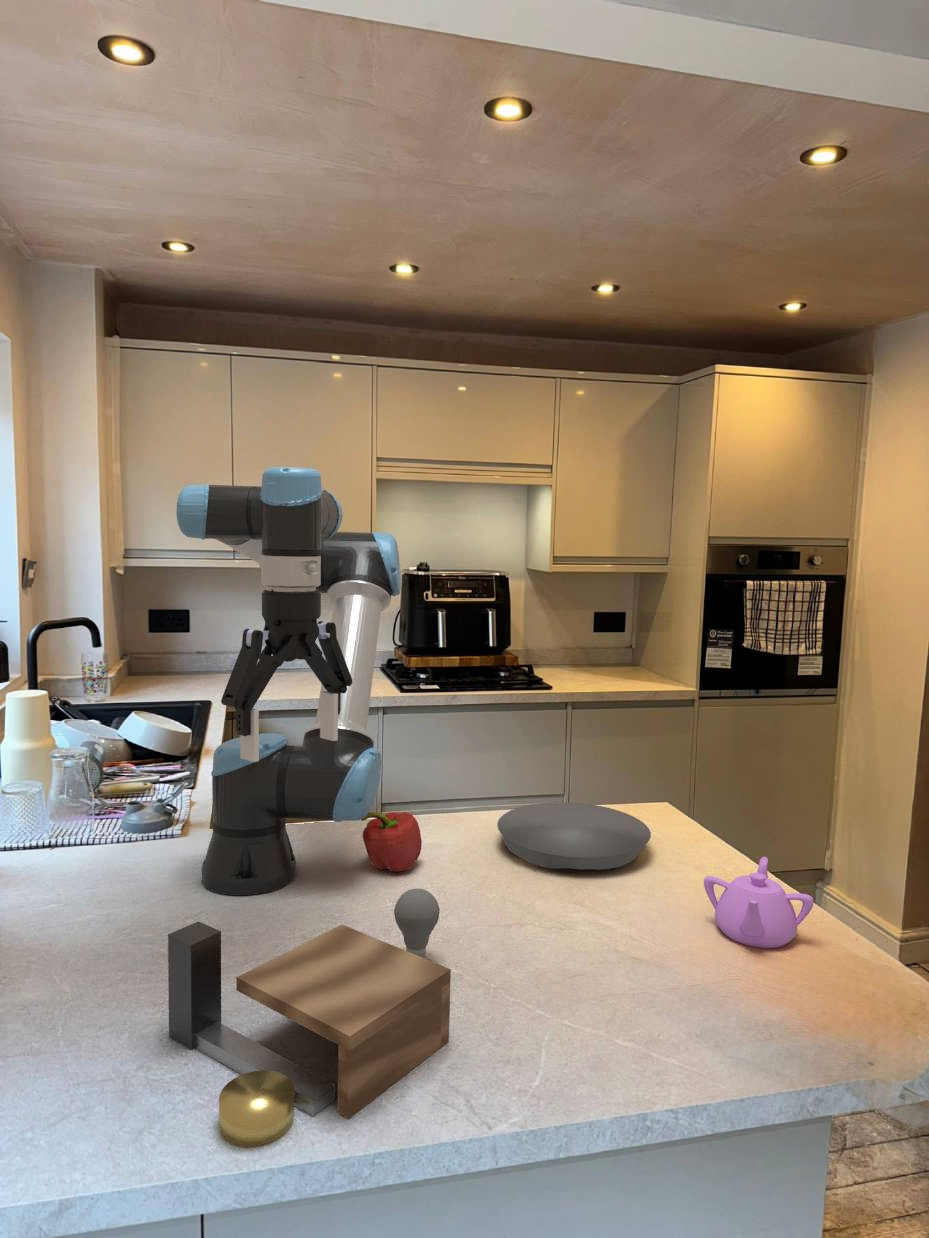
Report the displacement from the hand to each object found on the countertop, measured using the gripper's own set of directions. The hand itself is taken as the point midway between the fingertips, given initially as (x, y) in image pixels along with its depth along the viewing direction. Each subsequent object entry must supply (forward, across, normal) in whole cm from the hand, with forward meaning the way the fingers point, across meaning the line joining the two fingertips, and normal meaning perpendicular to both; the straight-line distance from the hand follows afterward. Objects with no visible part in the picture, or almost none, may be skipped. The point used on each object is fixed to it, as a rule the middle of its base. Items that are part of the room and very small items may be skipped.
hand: (291, 749), depth 109 cm
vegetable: (+29, +30, +9) cm, 43 cm away
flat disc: (+29, +58, -11) cm, 66 cm away
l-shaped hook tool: (+28, -19, -15) cm, 37 cm away
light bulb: (+28, +8, -15) cm, 33 cm away
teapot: (+29, +47, -48) cm, 73 cm away
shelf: (+28, -10, -21) cm, 36 cm away
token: (+28, -24, -23) cm, 43 cm away
